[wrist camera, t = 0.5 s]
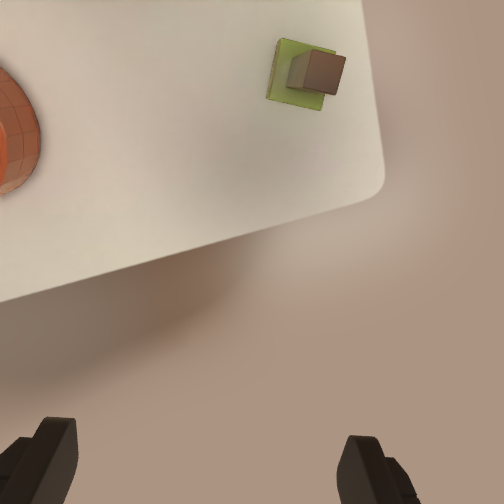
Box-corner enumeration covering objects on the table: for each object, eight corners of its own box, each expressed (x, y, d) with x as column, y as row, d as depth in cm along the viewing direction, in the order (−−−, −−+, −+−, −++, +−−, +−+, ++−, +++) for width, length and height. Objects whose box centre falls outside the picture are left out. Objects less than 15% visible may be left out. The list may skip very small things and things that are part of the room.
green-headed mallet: (277, 41, 34) (298, 20, 23) (328, 54, 35) (371, 40, 24) (265, 98, 36) (279, 103, 25) (314, 109, 37) (347, 119, 26)
